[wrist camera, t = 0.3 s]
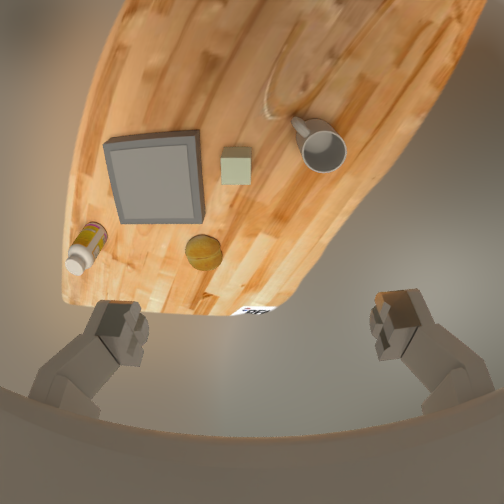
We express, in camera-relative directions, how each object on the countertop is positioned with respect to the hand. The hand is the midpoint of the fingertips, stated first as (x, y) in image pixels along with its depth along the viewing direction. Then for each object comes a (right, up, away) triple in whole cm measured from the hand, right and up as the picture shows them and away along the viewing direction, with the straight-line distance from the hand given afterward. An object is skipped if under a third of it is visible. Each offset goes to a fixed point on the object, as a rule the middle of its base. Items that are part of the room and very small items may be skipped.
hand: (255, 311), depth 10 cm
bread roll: (-11, +2, +58) cm, 59 cm away
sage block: (-3, +19, +44) cm, 48 cm away
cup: (+10, +24, +40) cm, 48 cm away
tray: (-19, +17, +46) cm, 53 cm away
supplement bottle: (-38, +7, +55) cm, 67 cm away
